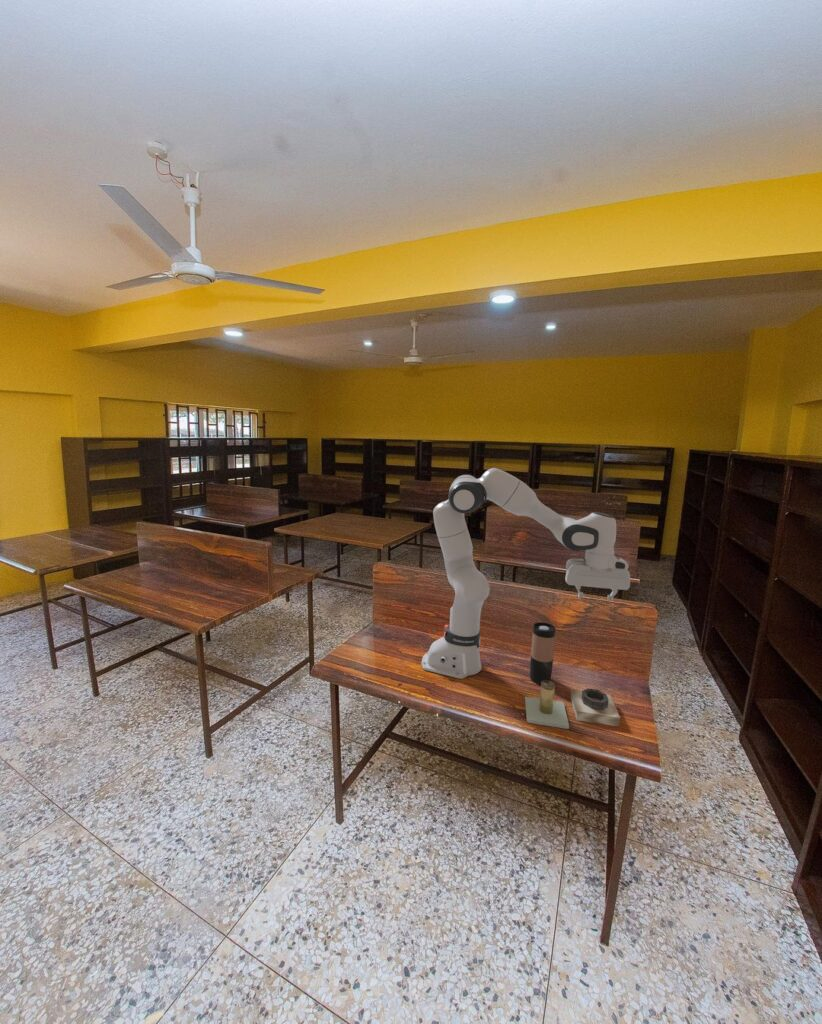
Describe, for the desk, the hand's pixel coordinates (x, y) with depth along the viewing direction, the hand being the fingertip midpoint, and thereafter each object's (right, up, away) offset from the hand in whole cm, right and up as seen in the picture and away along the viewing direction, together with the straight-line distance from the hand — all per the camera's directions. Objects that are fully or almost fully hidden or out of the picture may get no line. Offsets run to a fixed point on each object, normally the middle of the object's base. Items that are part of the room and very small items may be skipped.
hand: (595, 599), depth 143 cm
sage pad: (-21, -33, -13) cm, 41 cm away
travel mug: (-17, -30, +6) cm, 35 cm away
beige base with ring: (-5, -33, -11) cm, 35 cm away
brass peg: (-21, -32, -13) cm, 41 cm away
